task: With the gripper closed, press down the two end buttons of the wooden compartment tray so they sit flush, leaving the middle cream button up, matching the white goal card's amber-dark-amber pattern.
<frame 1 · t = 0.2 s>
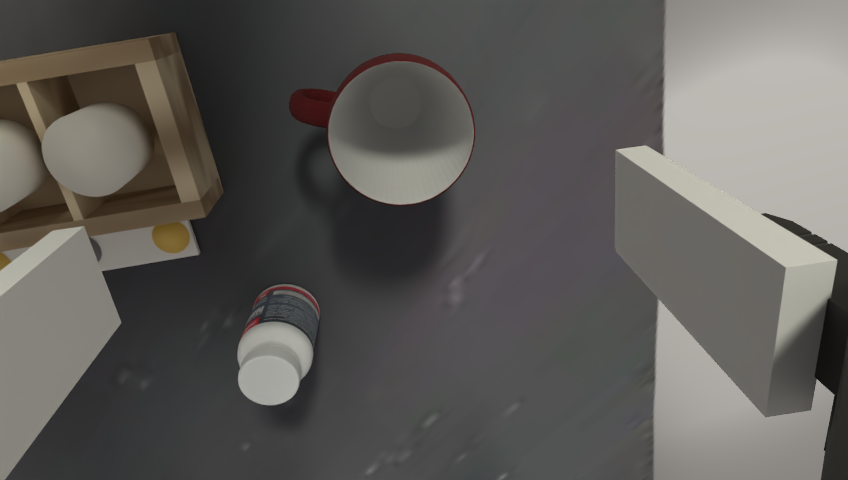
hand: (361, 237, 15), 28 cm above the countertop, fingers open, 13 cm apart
wooden compartment tray: (40, 143, 40), on the countertop
button c: (101, 148, 35), point 5 cm above the countertop, slide at 0.0 cm
mug: (377, 101, 41), on the countertop
goal card: (85, 248, 44), on the countertop
pill bottle: (287, 310, 47), on the countertop
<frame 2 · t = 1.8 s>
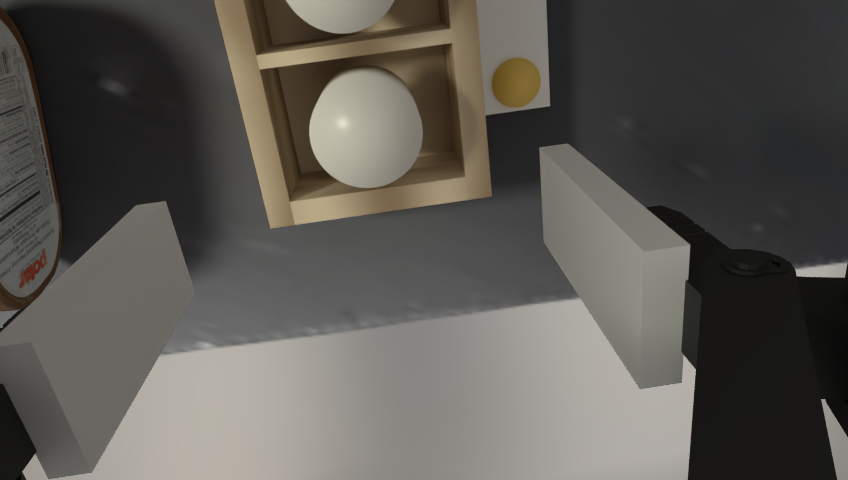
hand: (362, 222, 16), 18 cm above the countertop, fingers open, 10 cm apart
tin: (32, 138, 32), on the countertop
button a: (366, 124, 27), point 5 cm above the countertop, slide at 0.0 cm
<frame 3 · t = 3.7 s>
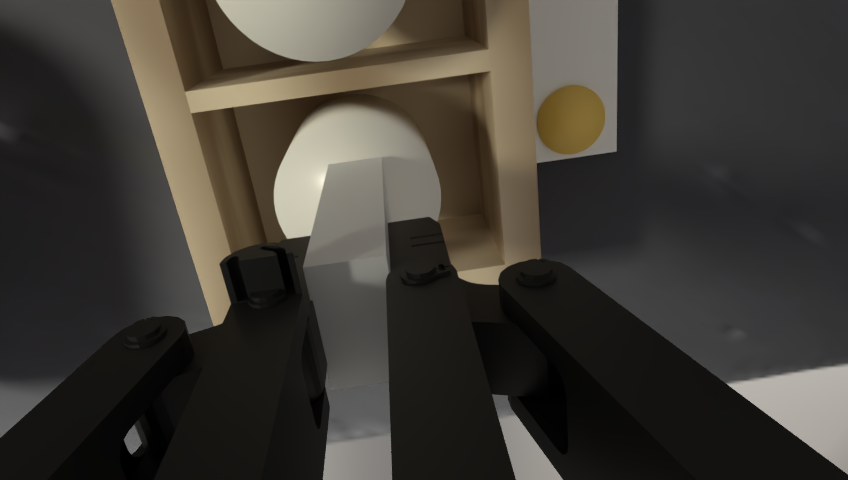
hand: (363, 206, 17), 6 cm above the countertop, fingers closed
button a: (359, 180, 19), point 4 cm above the countertop, slide at 1.3 cm, touching gripper
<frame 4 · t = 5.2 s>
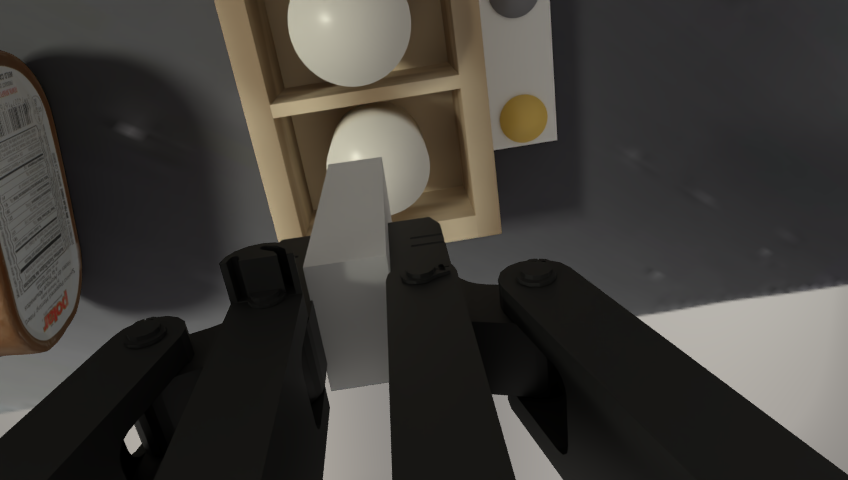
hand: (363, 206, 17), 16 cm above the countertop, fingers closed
tin: (51, 181, 33), on the countertop
button a: (378, 157, 29), point 4 cm above the countertop, slide at 1.9 cm
wooden compartment tray: (355, 15, 30), on the countertop
button b: (351, 21, 25), point 5 cm above the countertop, slide at 0.0 cm
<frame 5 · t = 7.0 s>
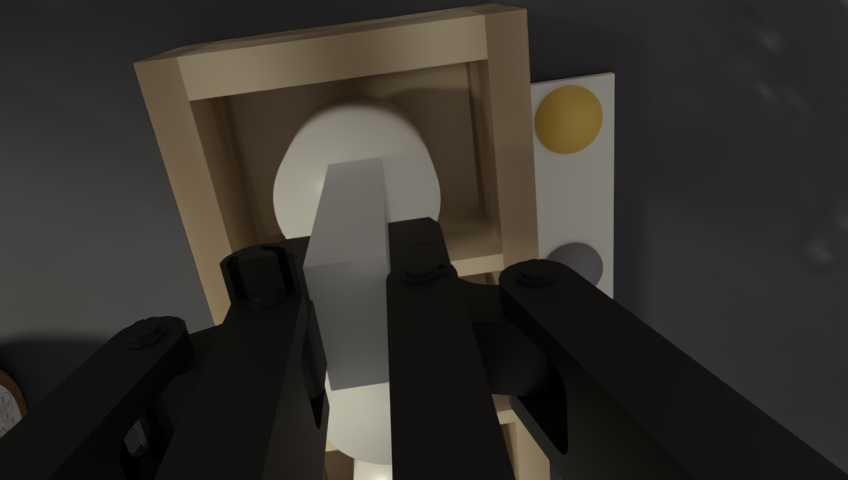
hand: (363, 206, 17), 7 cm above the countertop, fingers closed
tin: (23, 459, 28), on the countertop
button a: (411, 469, 25), point 4 cm above the countertop, slide at 1.9 cm
wooden compartment tray: (386, 293, 25), on the countertop
button b: (390, 370, 20), point 6 cm above the countertop, slide at 0.0 cm
button c: (359, 181, 19), point 4 cm above the countertop, slide at 1.2 cm, touching gripper
goal card: (569, 266, 26), on the countertop
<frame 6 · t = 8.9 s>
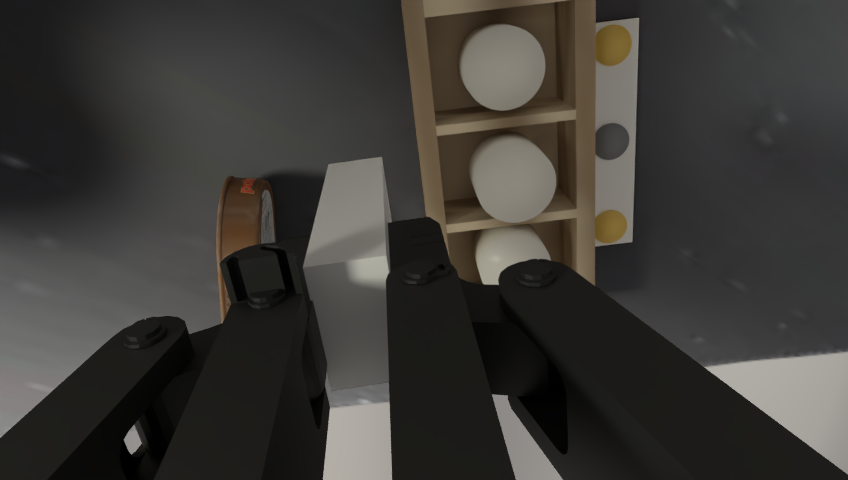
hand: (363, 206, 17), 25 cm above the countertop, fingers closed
tin: (264, 258, 45), on the countertop
button a: (510, 256, 41), point 4 cm above the countertop, slide at 1.9 cm
wooden compartment tray: (496, 153, 42), on the countertop
button b: (510, 175, 37), point 5 cm above the countertop, slide at 0.0 cm
button c: (499, 65, 36), point 4 cm above the countertop, slide at 1.9 cm
goal card: (608, 140, 42), on the countertop
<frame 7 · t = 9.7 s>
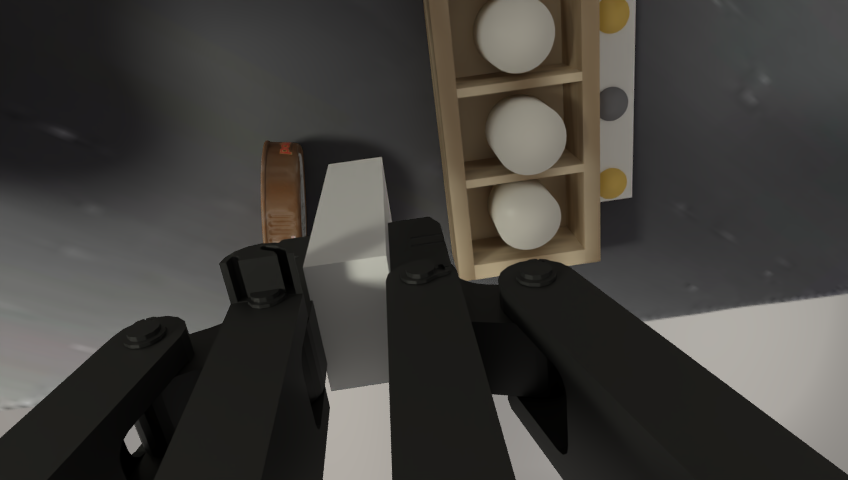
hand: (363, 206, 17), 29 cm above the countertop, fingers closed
tin: (294, 220, 48), on the countertop
button a: (523, 210, 45), point 4 cm above the countertop, slide at 1.9 cm
wooden compartment tray: (507, 117, 46), on the countertop
button b: (524, 133, 41), point 5 cm above the countertop, slide at 0.0 cm
button c: (512, 33, 40), point 4 cm above the countertop, slide at 1.9 cm
goal card: (609, 102, 46), on the countertop
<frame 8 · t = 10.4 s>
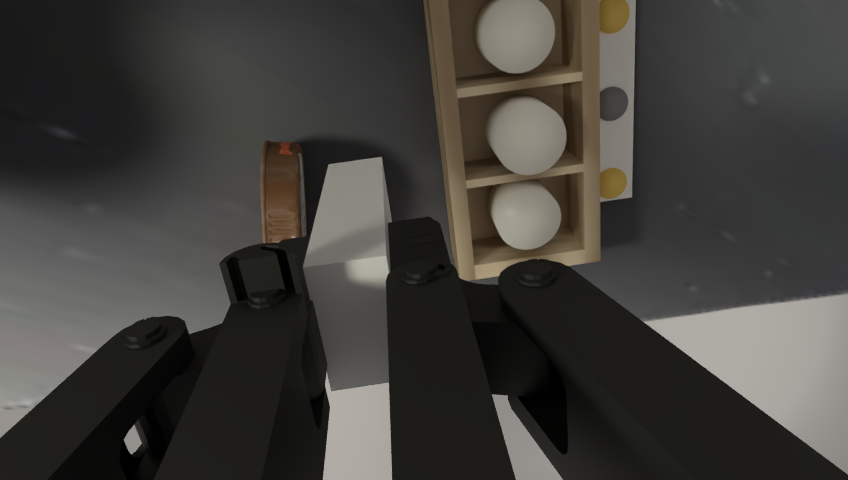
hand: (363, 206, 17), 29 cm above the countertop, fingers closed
tin: (294, 220, 48), on the countertop
button a: (523, 210, 45), point 4 cm above the countertop, slide at 1.9 cm
wooden compartment tray: (507, 117, 46), on the countertop
button b: (524, 133, 41), point 5 cm above the countertop, slide at 0.0 cm
button c: (512, 33, 40), point 4 cm above the countertop, slide at 1.9 cm
goal card: (609, 102, 46), on the countertop
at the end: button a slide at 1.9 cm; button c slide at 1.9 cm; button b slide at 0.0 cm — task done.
